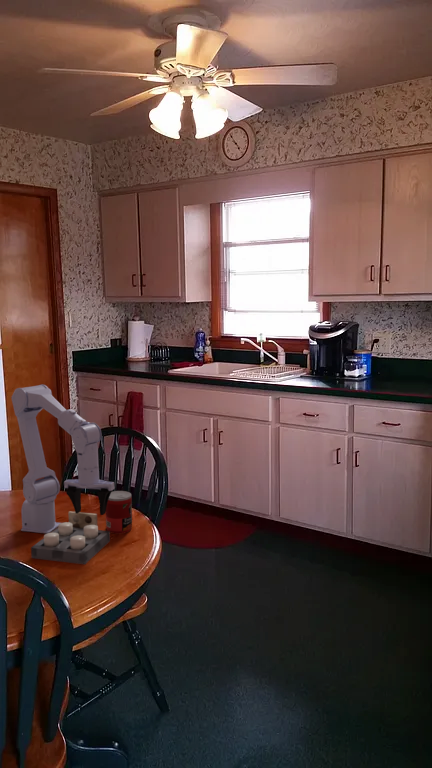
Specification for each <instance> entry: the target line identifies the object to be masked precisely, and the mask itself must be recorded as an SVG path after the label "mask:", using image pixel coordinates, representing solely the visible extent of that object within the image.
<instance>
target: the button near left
mask: <svg viewBox="0 0 432 768" xmlns="http://www.w3.org/2000/svg"><path fill="white" fill-rule="evenodd" d="M43 538H44V546H46V547H56V546H58V545H59V534H58V533H51V532H50V533H44V535H43Z"/></svg>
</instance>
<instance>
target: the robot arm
mask: <svg viewBox="0 0 432 768" xmlns="http://www.w3.org/2000/svg"><path fill="white" fill-rule="evenodd" d="M10 398H11V402H12V406H13V411H14V412H13V413H14V415H15V416H16V419H17V423H18V427H19V433H20V437H21V441H22V446H23V450H24V454H25V461H26V463H27V469H28V472H27V474H25V476H24V477H23V479H22V485H23V486H22V487H23V488H22V495H23V497H24V498H25V500H24V501H23V503H22V505H21V526H22V527H21V529H20V532H21V531H22V532H28V533H30V532H31V533H37V534H38V533H39V534H47V533H51V532H53V531H54V530H56V529H57V528H58V525H59V524H61V523H62V522H57V521H56V509H55V508H56V507H55V500H56V499H57V495H59V493H60V490H61V486H60V481H59V480H58V478H57V476H56V472H55V470H53V469H50V468H49V467H47V466H48V465H47V463H46V459H45V458H46V456H45V454H44V449H43V445H42V440H41V435H40V430H39V426H38V423H37V418H36V417H37V416H38V415H39V413H40V412H41V411H42V410H45V411H46V412H47V413H49V414H51V415H52V416H53V417H55V418H57V424H58V426H59V427H61V428H62V429H63V430H64V431H65V432H66V433H68V434H69V435H70V436H71V440H72V442H73V445H74V450H75V451H76V452H75V453H76V454H77V456H76V457H77V458H76V459H77V473H78V474H77V475H78V477H77V478H78V479H77V478H76V479H75V478H74V479H66V480H65V481H64V482H63V485H64V489H67V490H66V495H67V496H68V498H69V499H70V501H71V503H72V506H73V509H74V512H75V513H79V512H81V511H82V501H81V499H82V498H81V497H82V489H89V490H99V491H97V492H96V494H97V497H98V502H99V503H98V504H99V515H100V516H104V515H106V506H107V502H108V499H109V497H110V494H111V492H113V490H115V482H114V481H107V480H103V479H100V471H99V470H100V468H99V447H98V446H99V445H98V443H99V442H100V441H101V440H102V436H103V435H102V430H101V427H100V426H99V425H98V424H97V423H96V422H89V421H87V420H86V419H84V418H83V417H82V416H80V415H79V414H78V413H77V411H76V410H75V409H72V408H71V409H66V408H65V407H64V406H63V405H62V404H61V403H60V402H59V401H58V399H56V398H55V397H54V396H53V393H52V390H51V389H50V388H49V386H47V385H46V384H42V383H41V384H39V385H33V386H26V387H17V388H15V389H14V392H13V393H12V395H11V396H10Z"/></svg>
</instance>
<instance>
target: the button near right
mask: <svg viewBox="0 0 432 768" xmlns="http://www.w3.org/2000/svg"><path fill="white" fill-rule="evenodd" d="M70 547H71V549H73V550H83V549H84V548H85V537H84V536H81V535H77V536H73V537H71V538H70Z"/></svg>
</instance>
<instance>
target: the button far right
mask: <svg viewBox="0 0 432 768" xmlns="http://www.w3.org/2000/svg"><path fill="white" fill-rule="evenodd" d="M97 525H98V524H97ZM97 525H87V526H85V527H84V537H85V538H90V539H95V538H97V537H98V530H99V526H97Z"/></svg>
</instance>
